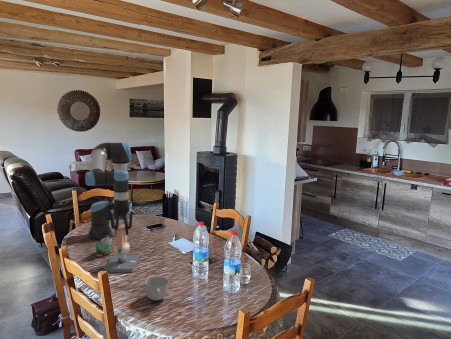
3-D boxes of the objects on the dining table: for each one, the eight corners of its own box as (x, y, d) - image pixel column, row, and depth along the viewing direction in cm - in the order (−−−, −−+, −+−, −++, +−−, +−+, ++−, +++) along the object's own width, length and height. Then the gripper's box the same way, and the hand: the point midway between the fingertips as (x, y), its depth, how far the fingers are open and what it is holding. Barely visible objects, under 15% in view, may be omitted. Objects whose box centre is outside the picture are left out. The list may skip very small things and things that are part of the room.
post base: (112, 258, 185) (112, 244, 184) (138, 258, 186) (138, 245, 185) (103, 272, 168) (103, 257, 167) (132, 272, 169) (132, 257, 168)
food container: (104, 259, 183) (104, 243, 182) (95, 258, 185) (94, 241, 183) (116, 251, 195) (116, 235, 194) (107, 250, 196) (106, 234, 195)
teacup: (147, 290, 152) (147, 275, 150) (170, 290, 153) (170, 275, 151) (142, 307, 138) (142, 290, 137) (167, 307, 139) (167, 290, 138)
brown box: (117, 246, 181) (117, 224, 179) (131, 246, 181) (131, 224, 179) (111, 254, 170) (111, 230, 168) (126, 254, 171) (126, 231, 169)
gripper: (104, 200, 167) (104, 242, 171) (135, 201, 168) (135, 243, 172) (108, 197, 175) (109, 237, 178) (137, 197, 176) (138, 238, 179)
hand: (121, 240), depth 175 cm, fingers closed on brown box, 3 cm apart
